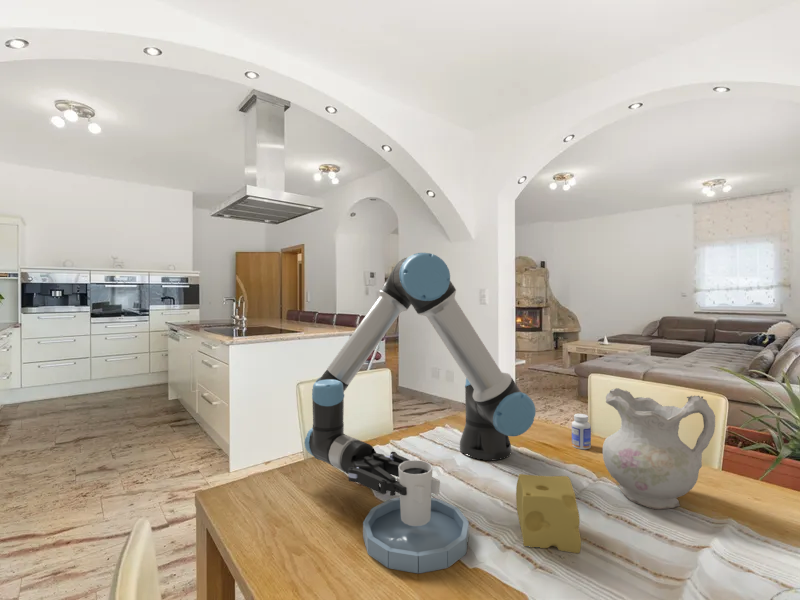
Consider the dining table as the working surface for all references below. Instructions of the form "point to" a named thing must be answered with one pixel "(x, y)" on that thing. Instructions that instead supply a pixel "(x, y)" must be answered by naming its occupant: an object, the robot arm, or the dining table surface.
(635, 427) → the ceramic pitcher
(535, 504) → the cheese
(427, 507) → the white coffee cup
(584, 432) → the pill bottle
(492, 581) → the dining table surface
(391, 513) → the blue round tray
